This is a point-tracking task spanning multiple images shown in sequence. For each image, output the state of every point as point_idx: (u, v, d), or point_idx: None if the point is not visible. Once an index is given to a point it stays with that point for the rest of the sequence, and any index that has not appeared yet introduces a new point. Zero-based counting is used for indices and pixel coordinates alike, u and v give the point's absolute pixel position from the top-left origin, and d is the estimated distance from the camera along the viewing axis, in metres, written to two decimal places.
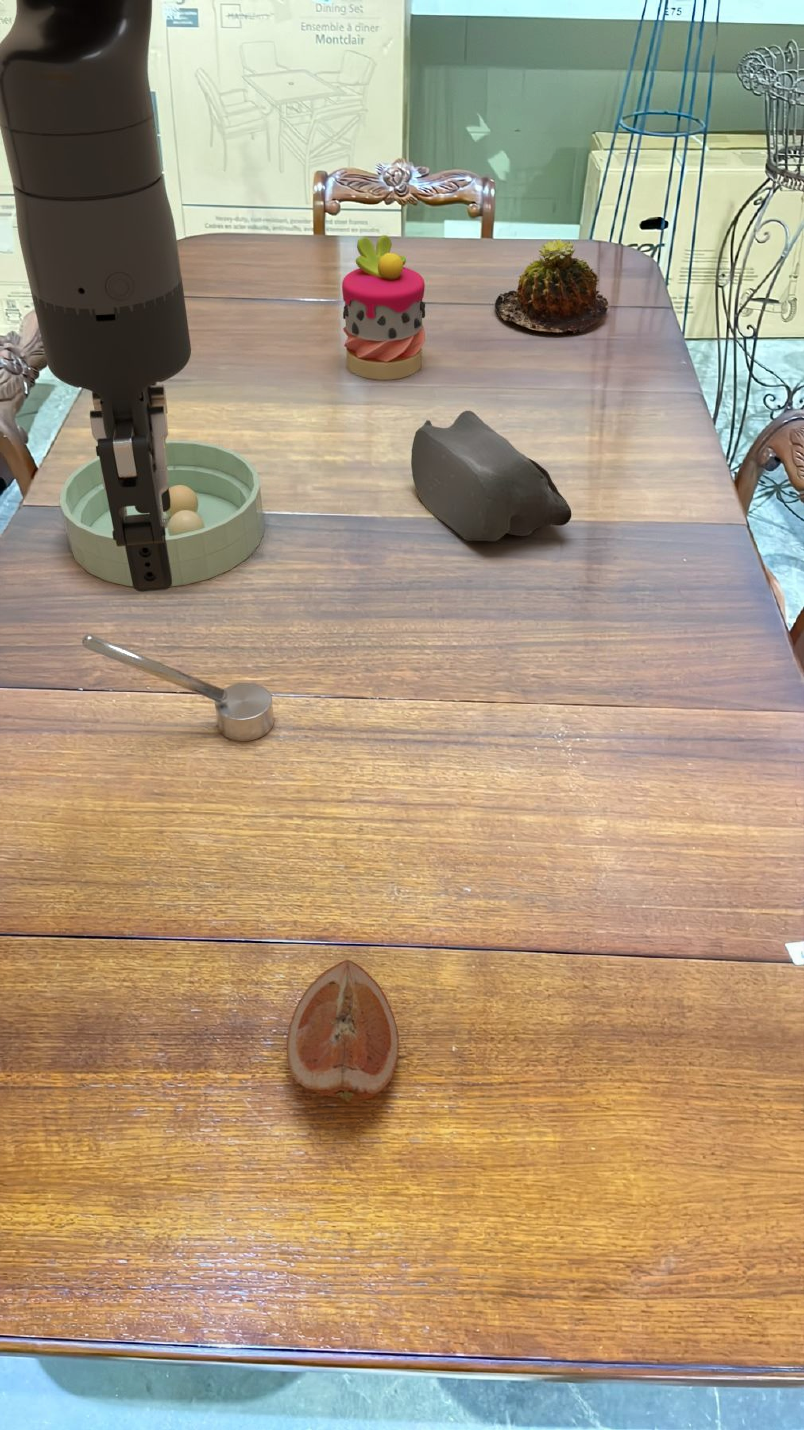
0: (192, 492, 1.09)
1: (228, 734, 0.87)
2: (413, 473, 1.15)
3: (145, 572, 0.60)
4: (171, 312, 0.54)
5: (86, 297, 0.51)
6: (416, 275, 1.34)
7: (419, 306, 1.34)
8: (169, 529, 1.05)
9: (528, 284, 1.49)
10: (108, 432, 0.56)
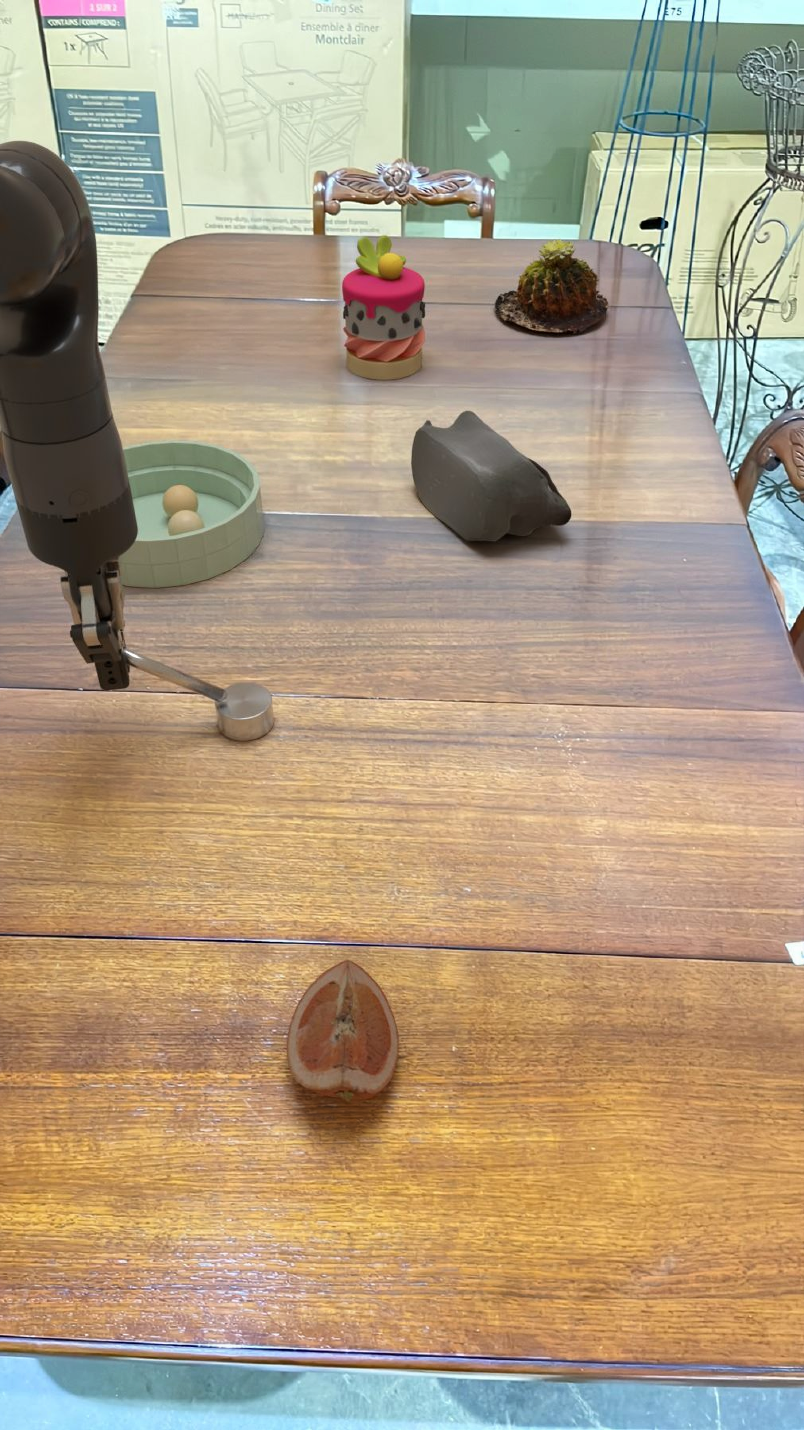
0: (192, 492, 1.09)
1: (228, 734, 0.87)
2: (413, 473, 1.15)
3: (108, 677, 0.81)
4: (120, 510, 0.72)
5: (55, 507, 0.69)
6: (416, 275, 1.34)
7: (419, 306, 1.34)
8: (169, 529, 1.05)
9: (528, 284, 1.49)
10: (73, 597, 0.73)
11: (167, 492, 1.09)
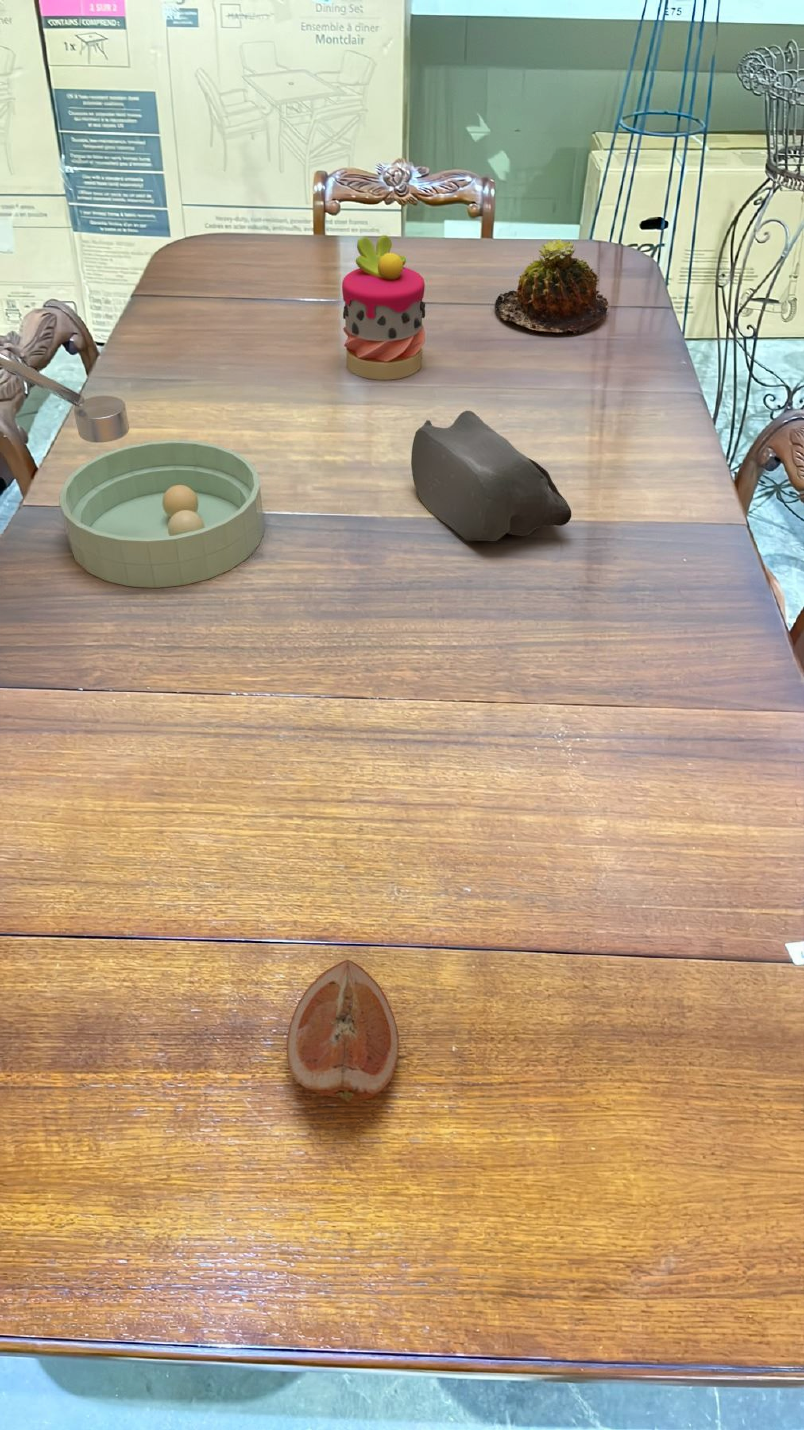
0: (192, 492, 1.09)
1: (85, 436, 0.98)
2: (413, 473, 1.15)
3: None
4: None
5: None
6: (416, 275, 1.34)
7: (419, 306, 1.34)
8: (169, 529, 1.05)
9: (528, 284, 1.49)
10: None
11: (167, 492, 1.09)
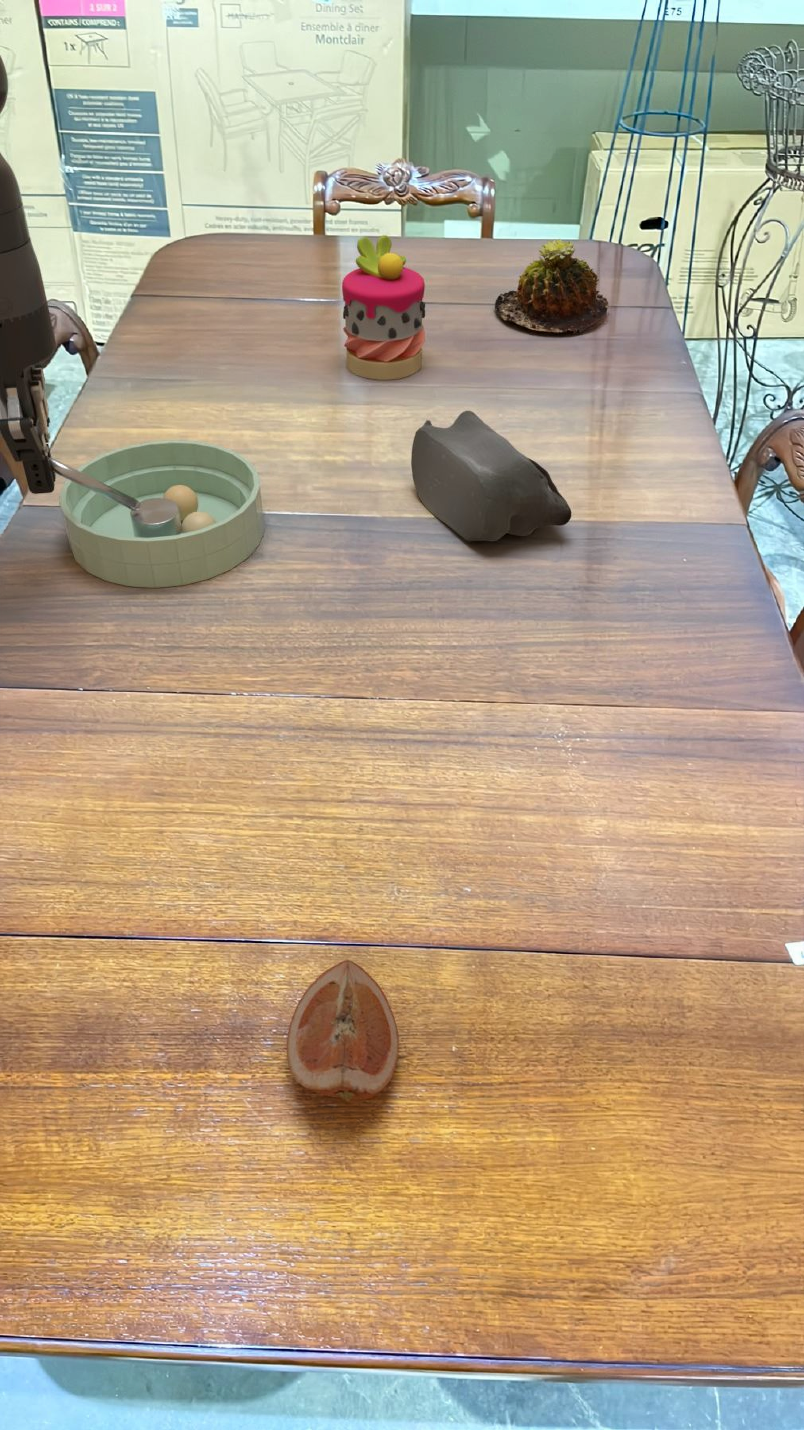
0: (192, 492, 1.09)
1: None
2: (413, 473, 1.15)
3: (36, 480, 0.97)
4: (38, 322, 0.88)
5: None
6: (416, 275, 1.34)
7: (419, 306, 1.34)
8: (188, 524, 1.04)
9: (528, 284, 1.49)
10: (1, 397, 0.89)
11: (167, 492, 1.09)
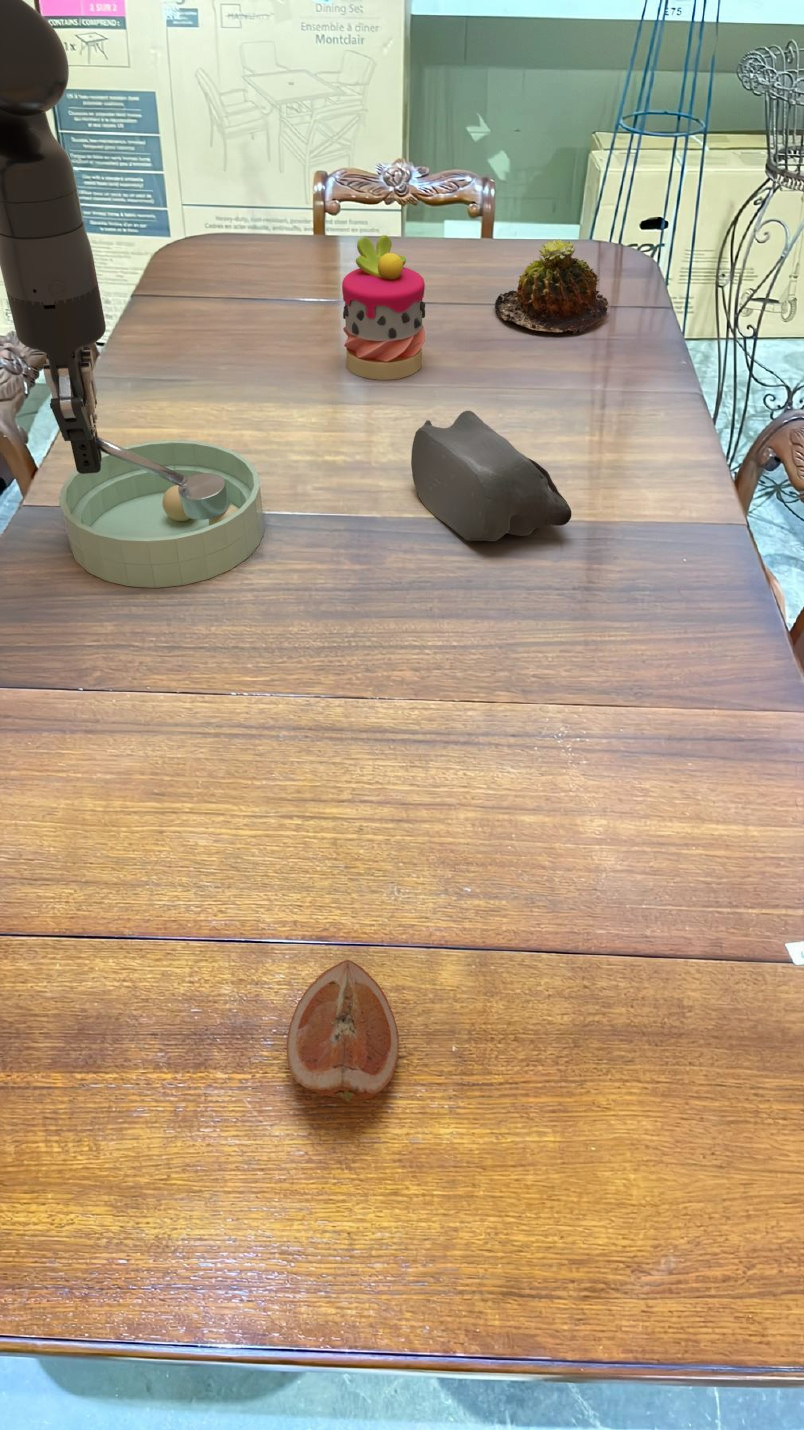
0: None
1: (189, 514, 1.05)
2: (413, 473, 1.15)
3: (83, 460, 1.00)
4: (90, 304, 0.90)
5: (37, 294, 0.88)
6: (416, 275, 1.34)
7: (419, 306, 1.34)
8: None
9: (528, 284, 1.49)
10: (53, 376, 0.92)
11: (167, 492, 1.09)
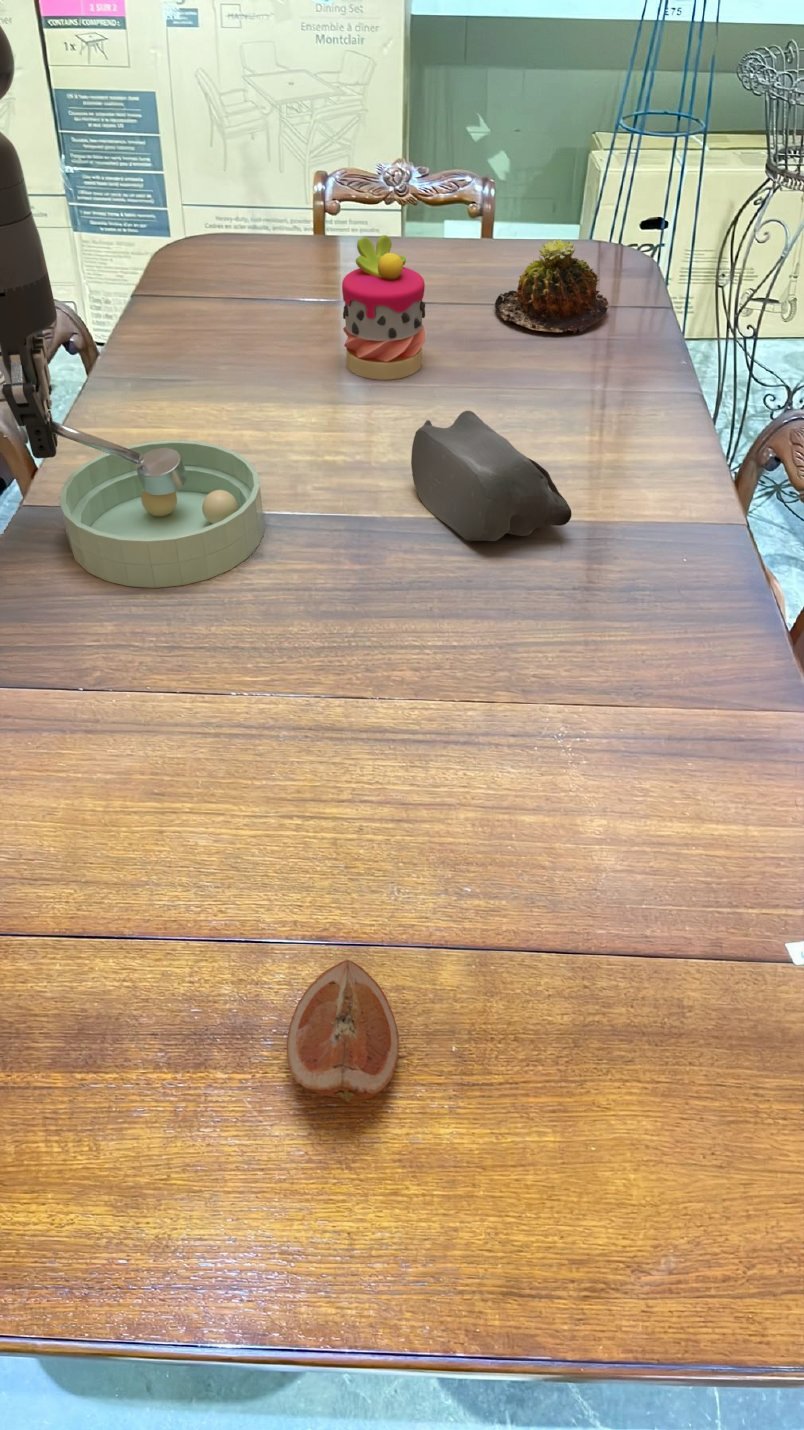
0: None
1: (148, 490, 1.08)
2: (413, 473, 1.15)
3: (38, 445, 1.02)
4: (40, 292, 0.93)
5: None
6: (416, 275, 1.34)
7: (419, 306, 1.34)
8: None
9: (528, 284, 1.49)
10: (5, 363, 0.94)
11: None
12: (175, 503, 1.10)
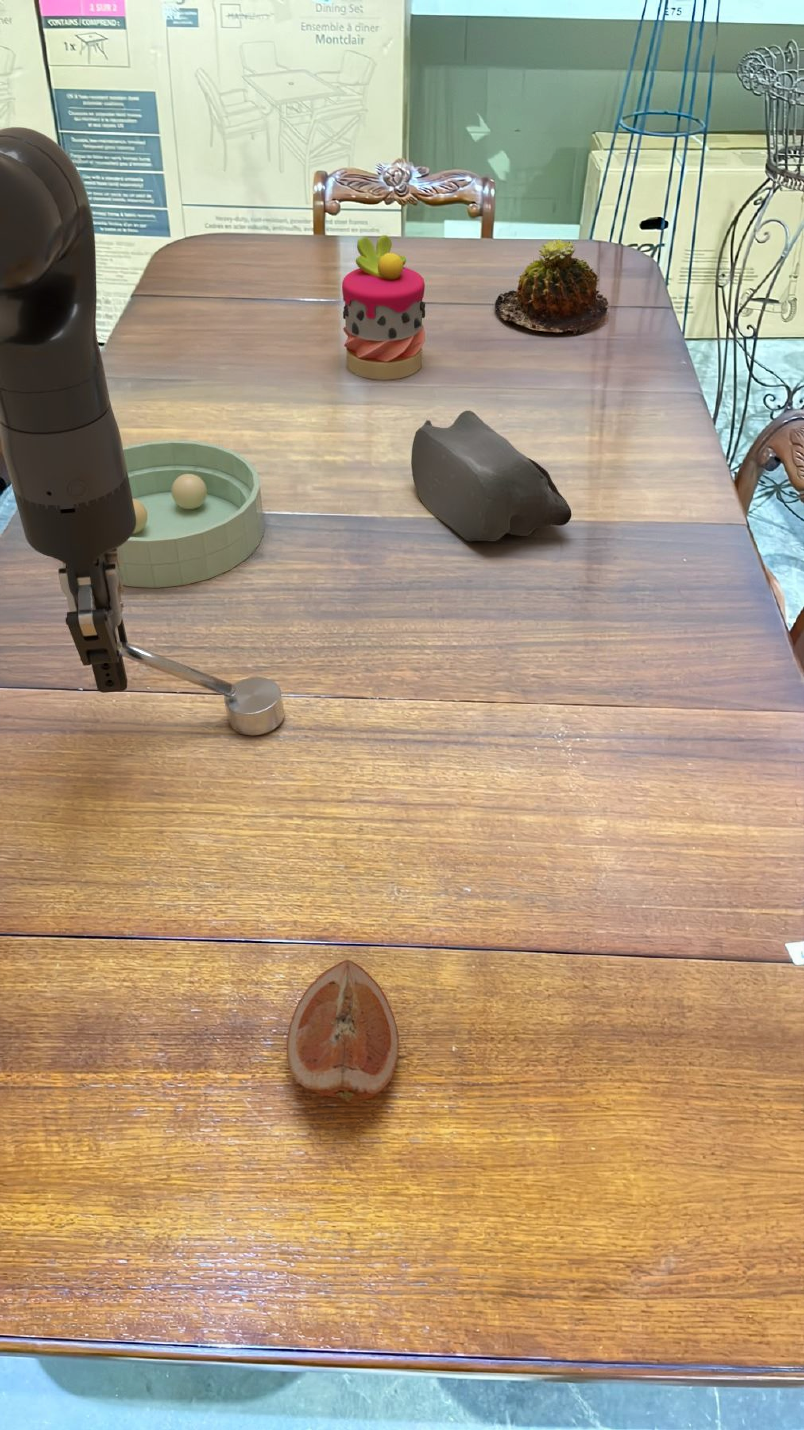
0: None
1: (237, 728, 0.87)
2: (413, 473, 1.15)
3: (106, 680, 0.80)
4: (118, 501, 0.71)
5: (53, 497, 0.69)
6: (416, 275, 1.34)
7: (419, 306, 1.34)
8: (205, 487, 1.12)
9: (528, 284, 1.49)
10: (71, 589, 0.73)
11: None
12: (138, 517, 1.07)
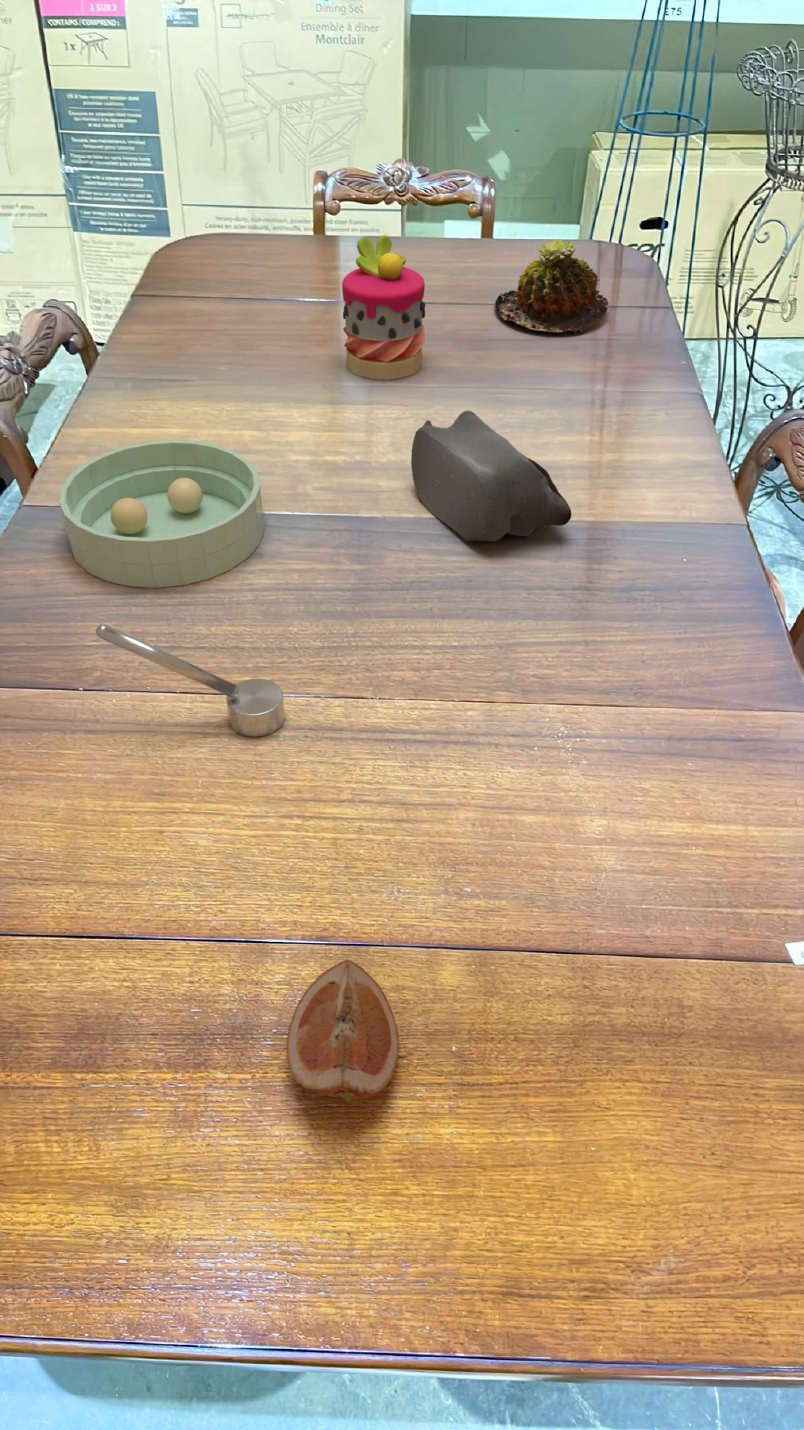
0: None
1: (238, 729, 0.87)
2: (413, 473, 1.15)
3: None
4: None
5: None
6: (416, 275, 1.34)
7: (419, 306, 1.34)
8: (200, 487, 1.11)
9: (528, 284, 1.49)
10: None
11: None
12: (138, 518, 1.07)
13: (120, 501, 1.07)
